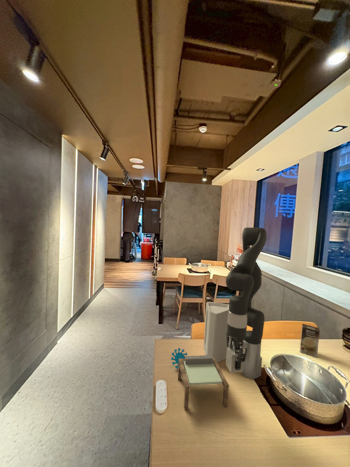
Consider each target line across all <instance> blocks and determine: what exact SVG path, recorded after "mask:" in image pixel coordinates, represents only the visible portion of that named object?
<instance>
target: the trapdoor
mask: <svg viewBox="0 0 350 467" xmlns="http://www.w3.org/2000/svg"><path fill="white" fill-rule="evenodd" d="M184 356H185V361H184V367H185V372H186V376H187V379H188V383H189V386H205V385H222V380H221V378H220V376H219V374H218V372H217V370H216V368H215V366H214V364H213V358H212V356H211V355H205V354H203V355H200V354H199V355H184Z"/></svg>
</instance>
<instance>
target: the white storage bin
mask: <svg viewBox="0 0 350 467" xmlns="http://www.w3.org/2000/svg"><path fill="white" fill-rule="evenodd" d="M228 312H229V303H221V302H215V301H214V302H212V301H207V302H205V319H204V332H203V333H204V336H203V351H204V355H211V356H212V358H215V360H216V361H217V363H220V362H222V361H223V360H226V354H227V348H228V347H227V340H226V332H227V321H228Z"/></svg>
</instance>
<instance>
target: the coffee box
mask: <svg viewBox="0 0 350 467" xmlns="http://www.w3.org/2000/svg"><path fill="white" fill-rule="evenodd" d="M319 339H320V328H319V327H316V326H312V325H308V324H305V323H302V325H301V334H300V344H299V345H300V346H299V352H300V353H301V354H305V355H308V356H311V357H314V358H318V351H319Z"/></svg>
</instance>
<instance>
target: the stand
mask: <svg viewBox="0 0 350 467" xmlns="http://www.w3.org/2000/svg"><path fill="white" fill-rule="evenodd" d="M184 361H185V359H179V364H177V365H178V368H177V380H178V381H182V383H183V386H184V401H183V408H184V411H188V410H189V402H190V388H191V387H190V386H191V385H189V381H188V378H187V374H186V371H185V368H184ZM218 363H219V362H218ZM218 363H217V361H216V360H215V358H213V364H214V366H215V368H216V370H217V372H218V374H219V376H220V378H221V380H222V384H221V385H222V386H223V391H222V406H223V408H228V402H229V401H228V400H229V386H230V385H229V382H228V381H227V379H226V377H225V375H224V373H223V371H222V370H221V368H220V366H219V364H218Z"/></svg>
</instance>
